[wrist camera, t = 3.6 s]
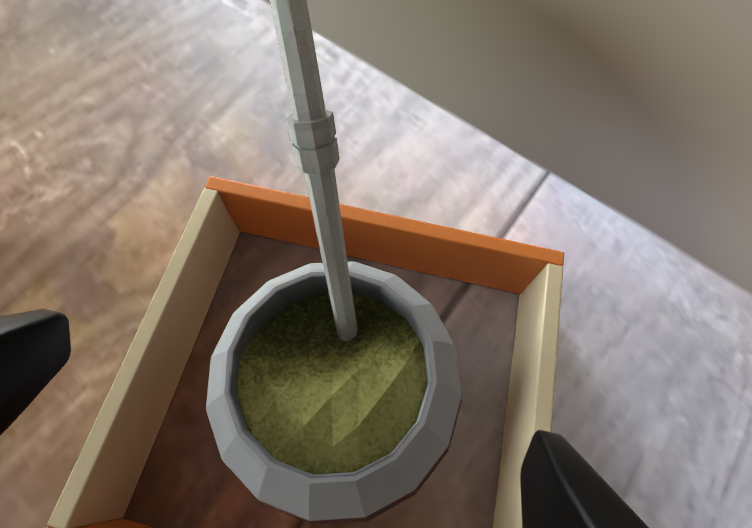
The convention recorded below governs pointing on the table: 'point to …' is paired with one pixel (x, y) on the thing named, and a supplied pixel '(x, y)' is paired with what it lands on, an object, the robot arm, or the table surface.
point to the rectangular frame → (296, 225)
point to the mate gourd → (330, 352)
